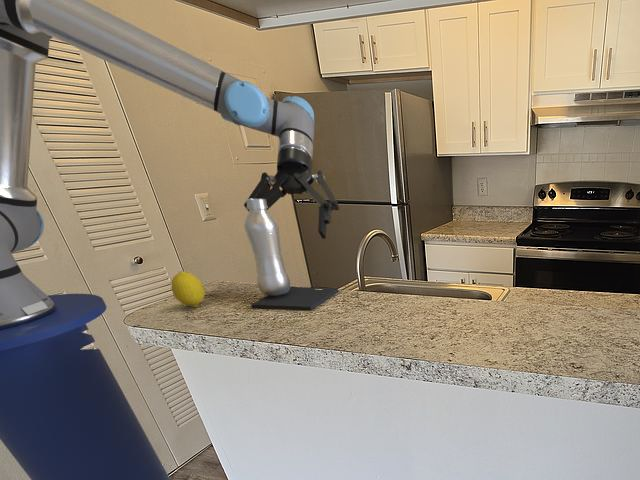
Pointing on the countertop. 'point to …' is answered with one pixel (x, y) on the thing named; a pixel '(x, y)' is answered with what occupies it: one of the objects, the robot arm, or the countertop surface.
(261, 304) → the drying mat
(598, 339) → the countertop surface
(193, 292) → the lemon
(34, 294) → the robot arm
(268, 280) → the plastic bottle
